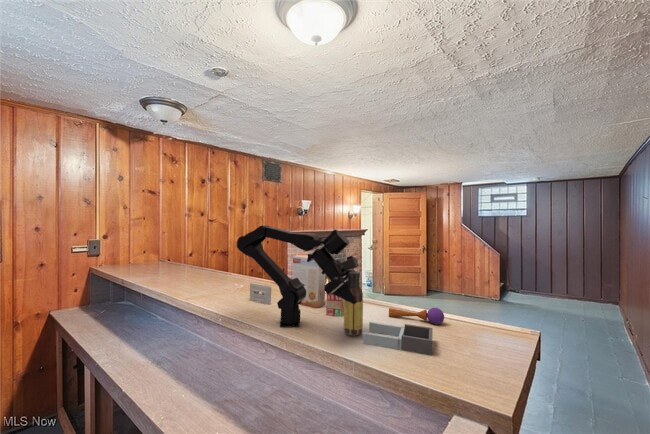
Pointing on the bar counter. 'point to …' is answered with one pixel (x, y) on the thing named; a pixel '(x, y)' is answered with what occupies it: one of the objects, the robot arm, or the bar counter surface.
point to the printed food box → (334, 305)
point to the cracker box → (310, 280)
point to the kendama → (420, 315)
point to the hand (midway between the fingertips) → (357, 300)
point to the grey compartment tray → (400, 337)
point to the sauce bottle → (353, 306)
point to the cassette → (260, 298)
